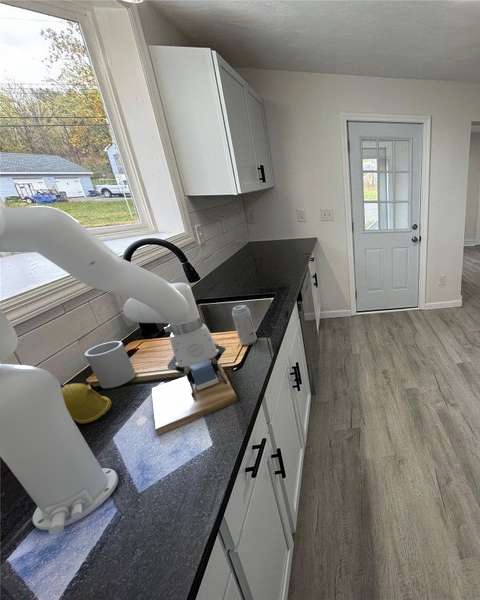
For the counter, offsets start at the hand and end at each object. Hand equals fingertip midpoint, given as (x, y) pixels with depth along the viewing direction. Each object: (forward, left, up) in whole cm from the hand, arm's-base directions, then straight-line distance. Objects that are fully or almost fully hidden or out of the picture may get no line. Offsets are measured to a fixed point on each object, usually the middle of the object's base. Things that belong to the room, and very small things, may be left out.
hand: (204, 377), depth 96 cm
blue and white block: (0, 0, 0) cm, 0 cm away
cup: (+26, +22, -3) cm, 34 cm away
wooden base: (-3, +4, -3) cm, 6 cm away
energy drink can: (+21, -18, -3) cm, 27 cm away
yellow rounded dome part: (+6, +27, -3) cm, 28 cm away
